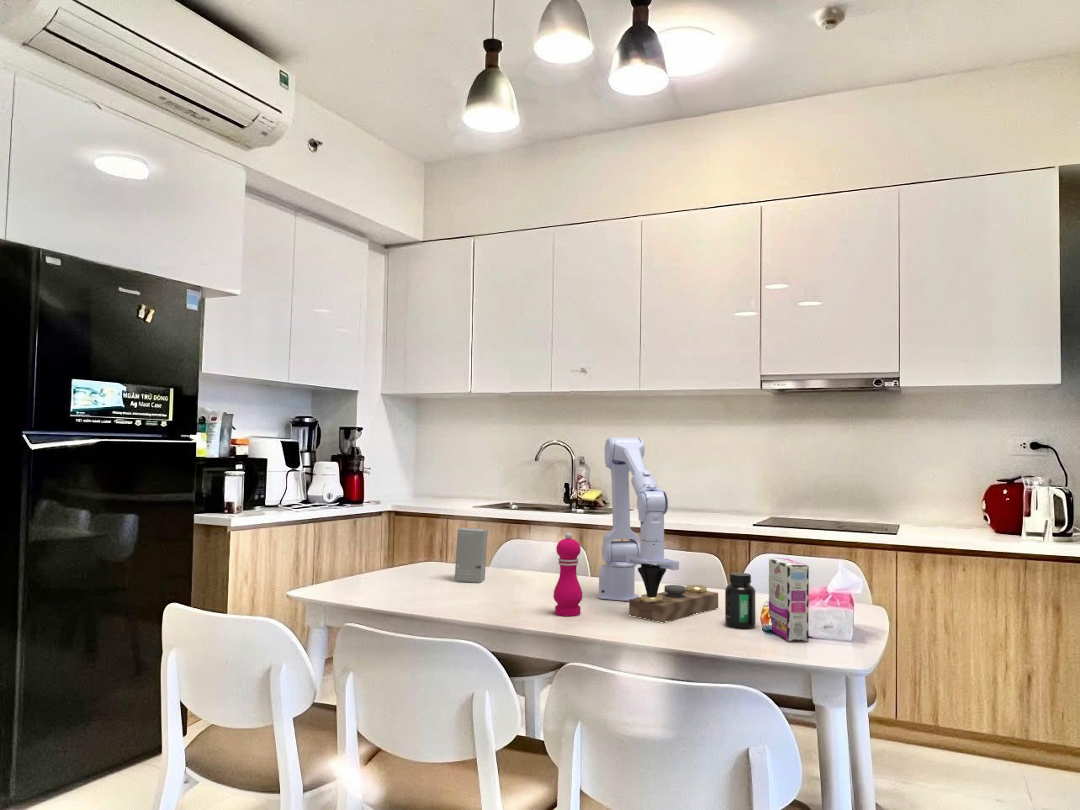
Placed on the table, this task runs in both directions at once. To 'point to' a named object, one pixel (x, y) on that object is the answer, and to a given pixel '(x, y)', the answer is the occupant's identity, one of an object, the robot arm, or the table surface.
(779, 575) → the candy bar box
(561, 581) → the pepper mill
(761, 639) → the table surface
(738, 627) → the supplement bottle
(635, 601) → the control panel
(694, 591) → the far brass knob
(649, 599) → the near brass knob
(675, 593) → the middle black knob
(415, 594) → the table surface
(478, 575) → the skincare box
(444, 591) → the table surface
